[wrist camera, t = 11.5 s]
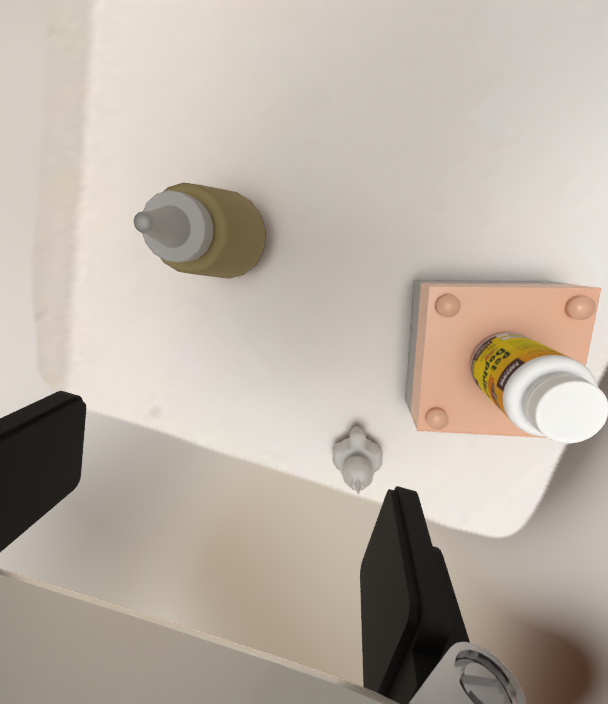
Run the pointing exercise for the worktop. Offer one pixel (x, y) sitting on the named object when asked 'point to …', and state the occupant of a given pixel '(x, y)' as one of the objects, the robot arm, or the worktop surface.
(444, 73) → the worktop surface
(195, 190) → the squeeze bottle
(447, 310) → the pink and grey block
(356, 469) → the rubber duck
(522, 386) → the supplement bottle
